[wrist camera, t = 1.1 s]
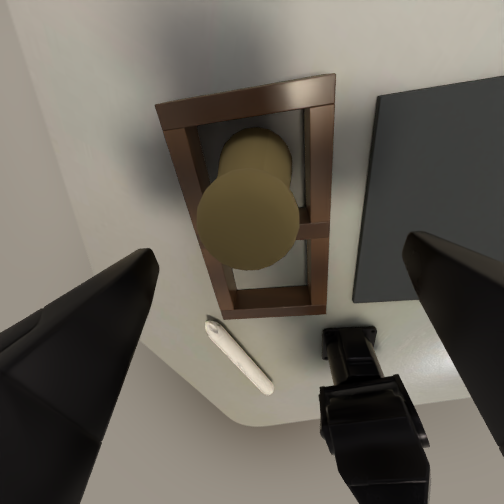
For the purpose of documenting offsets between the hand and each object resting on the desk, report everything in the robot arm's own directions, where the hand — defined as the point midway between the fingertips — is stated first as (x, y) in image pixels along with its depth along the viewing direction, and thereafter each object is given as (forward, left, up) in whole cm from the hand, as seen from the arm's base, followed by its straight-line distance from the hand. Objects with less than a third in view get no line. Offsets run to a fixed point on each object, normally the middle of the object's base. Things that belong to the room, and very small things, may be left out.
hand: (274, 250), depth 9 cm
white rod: (-27, +7, -13) cm, 31 cm away
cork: (-1, +1, -13) cm, 13 cm away
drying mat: (-7, -15, -13) cm, 21 cm away
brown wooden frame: (-6, +1, -13) cm, 14 cm away
